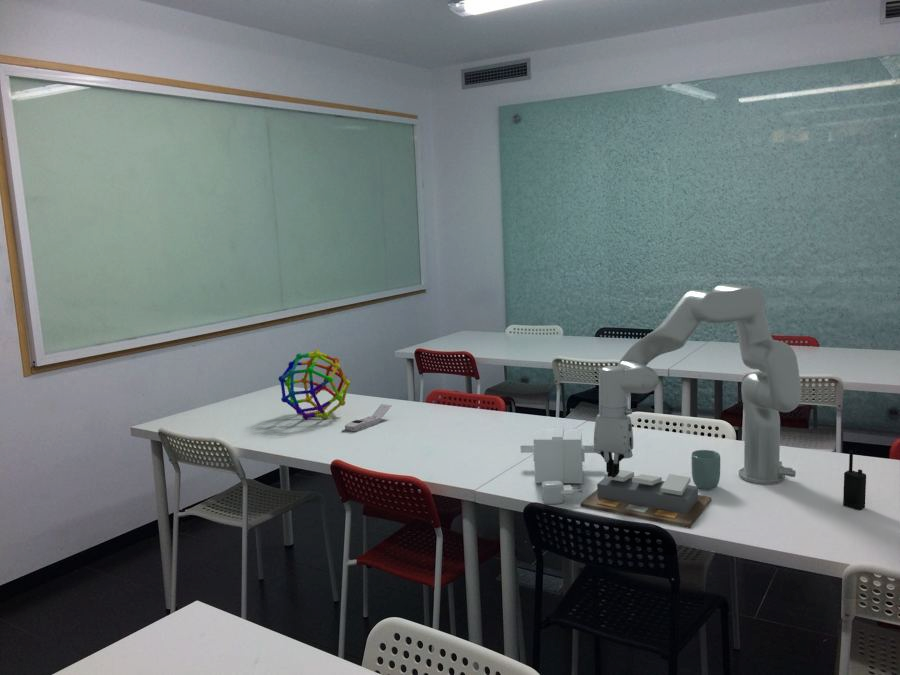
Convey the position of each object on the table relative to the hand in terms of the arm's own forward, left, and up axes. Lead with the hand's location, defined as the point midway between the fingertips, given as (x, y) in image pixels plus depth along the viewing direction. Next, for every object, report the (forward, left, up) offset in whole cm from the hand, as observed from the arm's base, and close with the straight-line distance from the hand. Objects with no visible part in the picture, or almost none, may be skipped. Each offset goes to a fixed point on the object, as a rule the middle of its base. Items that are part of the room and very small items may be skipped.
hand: (612, 475), depth 198 cm
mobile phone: (+118, -30, -8) cm, 122 cm away
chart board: (-8, -3, -8) cm, 12 cm away
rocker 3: (-16, -4, -2) cm, 17 cm away
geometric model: (+147, -30, -8) cm, 150 cm away
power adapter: (+13, +6, -8) cm, 16 cm away
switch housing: (-8, -4, -8) cm, 12 cm away
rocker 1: (0, -4, -2) cm, 4 cm away
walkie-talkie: (-56, -25, -8) cm, 62 cm away
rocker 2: (-8, -4, -2) cm, 9 cm away
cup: (-19, -22, -8) cm, 30 cm away
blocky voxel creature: (+24, -16, -8) cm, 31 cm away
